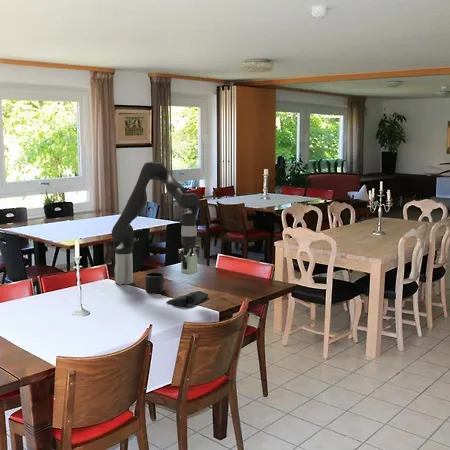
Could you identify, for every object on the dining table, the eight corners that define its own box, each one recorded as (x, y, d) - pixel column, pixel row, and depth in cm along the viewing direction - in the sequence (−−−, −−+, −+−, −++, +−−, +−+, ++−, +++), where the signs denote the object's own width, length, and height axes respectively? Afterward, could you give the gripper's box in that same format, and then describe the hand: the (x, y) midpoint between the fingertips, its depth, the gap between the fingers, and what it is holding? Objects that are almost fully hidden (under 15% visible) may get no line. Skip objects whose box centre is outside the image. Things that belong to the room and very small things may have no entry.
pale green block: (181, 273, 275) (181, 255, 273) (188, 271, 279) (188, 253, 278) (189, 274, 271) (189, 256, 270) (197, 272, 276) (197, 254, 274)
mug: (170, 289, 299) (170, 273, 298) (154, 294, 290) (154, 277, 288) (158, 286, 305) (157, 270, 303) (142, 291, 295) (141, 274, 294)
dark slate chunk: (213, 299, 284) (213, 290, 284) (188, 310, 266) (188, 300, 265) (189, 294, 292) (189, 285, 292) (163, 305, 274) (162, 295, 273)
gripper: (193, 231, 280) (193, 264, 283) (173, 235, 269) (173, 269, 272) (204, 233, 276) (204, 266, 278) (184, 237, 264) (185, 272, 267)
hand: (189, 267), depth 275 cm, fingers closed on pale green block, 5 cm apart
